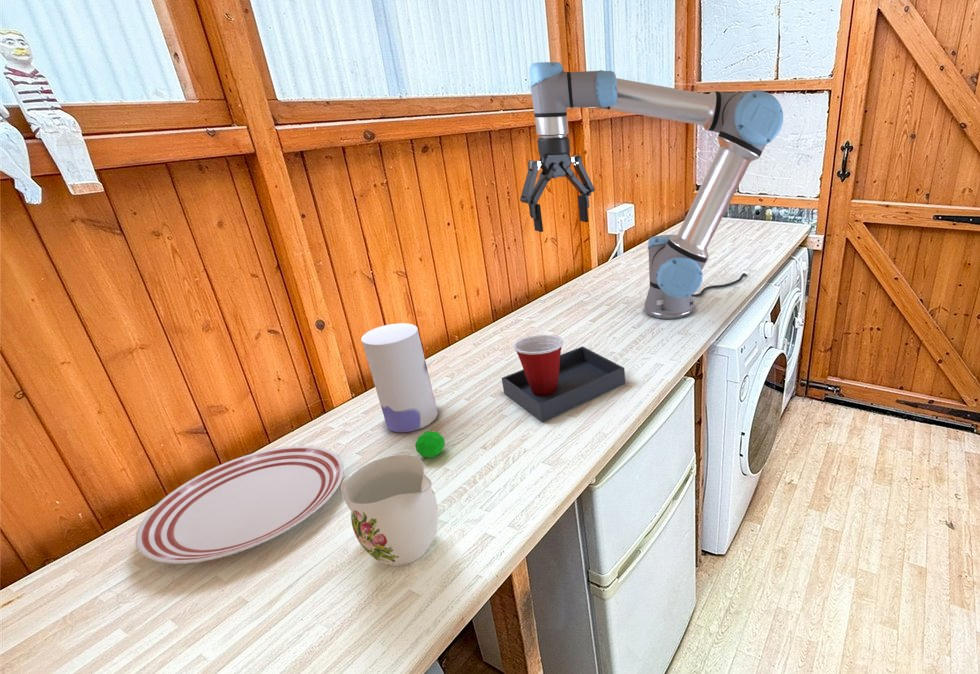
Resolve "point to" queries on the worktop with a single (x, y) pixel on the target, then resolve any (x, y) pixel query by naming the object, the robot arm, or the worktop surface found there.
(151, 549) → the dinner plate
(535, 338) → the plastic cup
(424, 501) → the pitcher
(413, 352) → the container
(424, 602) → the worktop surface
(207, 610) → the worktop surface
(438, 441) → the polyhedron
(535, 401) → the dark grey tray
